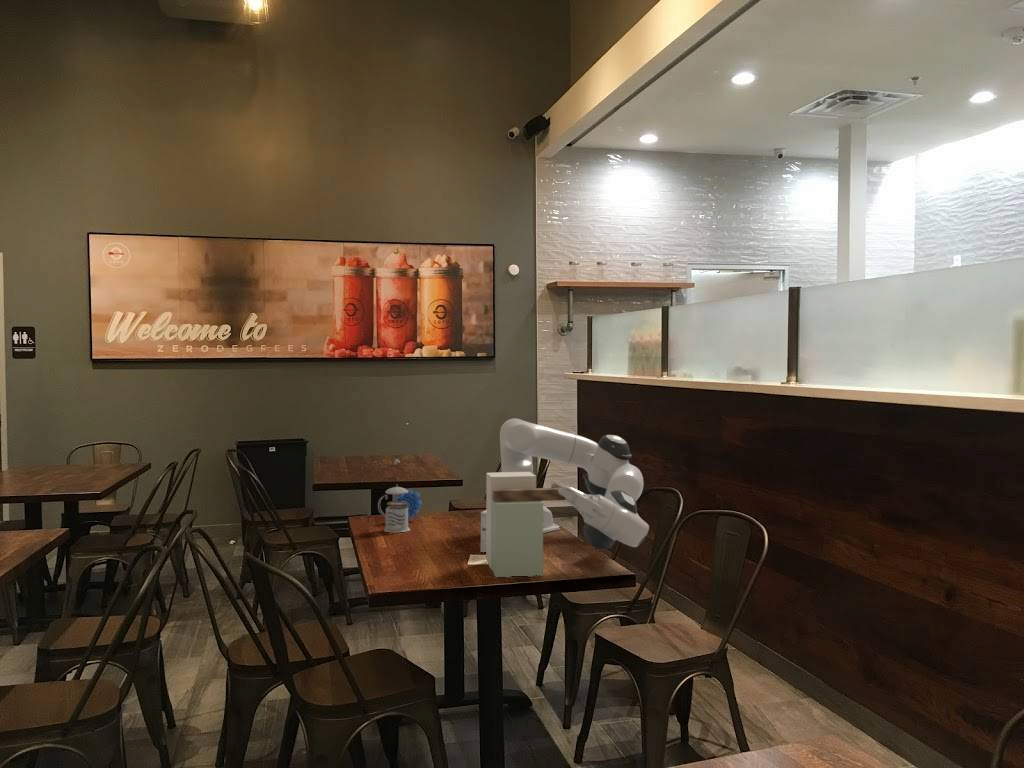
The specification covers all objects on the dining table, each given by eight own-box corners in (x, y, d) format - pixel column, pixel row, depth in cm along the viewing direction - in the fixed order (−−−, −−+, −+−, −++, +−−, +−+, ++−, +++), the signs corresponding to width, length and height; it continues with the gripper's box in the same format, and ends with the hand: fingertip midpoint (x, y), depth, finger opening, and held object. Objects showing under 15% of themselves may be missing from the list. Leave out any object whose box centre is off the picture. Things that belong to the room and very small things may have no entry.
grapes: (419, 518, 292) (419, 486, 291) (423, 521, 285) (423, 489, 285) (389, 520, 288) (388, 488, 288) (391, 523, 282) (391, 491, 281)
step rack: (529, 559, 229) (529, 471, 228) (543, 575, 210) (543, 480, 209) (486, 560, 226) (486, 472, 226) (495, 577, 208) (495, 481, 207)
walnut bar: (563, 498, 217) (563, 487, 217) (565, 500, 214) (565, 489, 214) (492, 500, 214) (492, 489, 213) (494, 502, 211) (494, 491, 211)
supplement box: (479, 553, 236) (479, 512, 236) (488, 547, 243) (488, 507, 243) (502, 555, 234) (502, 513, 234) (510, 549, 241) (510, 509, 241)
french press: (406, 534, 264) (406, 461, 263) (373, 532, 266) (373, 460, 265) (414, 528, 273) (414, 458, 273) (383, 527, 275) (383, 457, 275)
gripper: (601, 528, 206) (558, 503, 204) (582, 514, 226) (542, 491, 224) (613, 507, 207) (570, 482, 204) (592, 495, 227) (553, 472, 225)
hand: (555, 487), depth 215 cm, fingers open, 8 cm apart
